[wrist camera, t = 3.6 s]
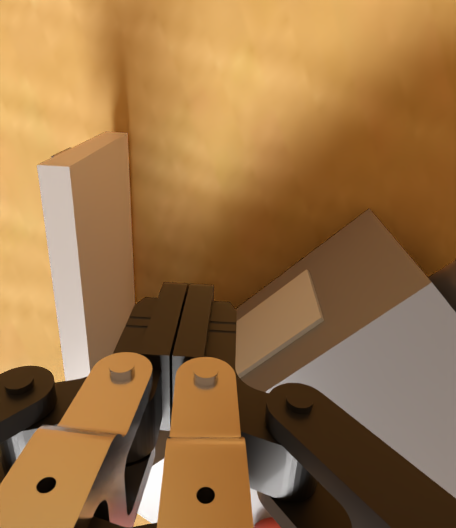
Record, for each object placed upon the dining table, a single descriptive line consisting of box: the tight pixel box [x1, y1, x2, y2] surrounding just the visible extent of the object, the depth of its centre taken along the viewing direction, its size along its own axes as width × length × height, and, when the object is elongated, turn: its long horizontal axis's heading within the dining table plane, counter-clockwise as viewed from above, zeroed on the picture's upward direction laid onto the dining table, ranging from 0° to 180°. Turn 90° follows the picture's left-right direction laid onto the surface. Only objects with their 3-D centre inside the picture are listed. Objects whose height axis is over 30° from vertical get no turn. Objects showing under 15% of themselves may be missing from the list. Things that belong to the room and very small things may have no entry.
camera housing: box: [137, 209, 456, 528], centre depth 21 cm, size 10×18×9 cm, turn 132°
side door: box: [37, 131, 135, 381], centre depth 20 cm, size 2×14×8 cm, turn 177°
